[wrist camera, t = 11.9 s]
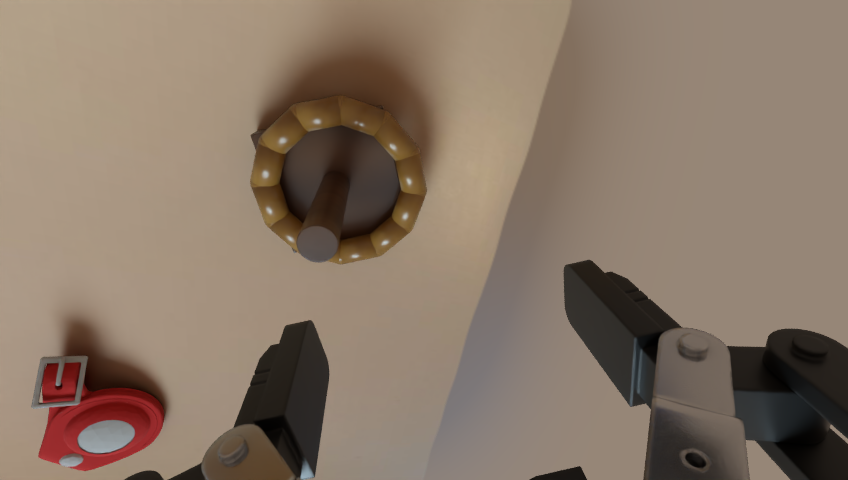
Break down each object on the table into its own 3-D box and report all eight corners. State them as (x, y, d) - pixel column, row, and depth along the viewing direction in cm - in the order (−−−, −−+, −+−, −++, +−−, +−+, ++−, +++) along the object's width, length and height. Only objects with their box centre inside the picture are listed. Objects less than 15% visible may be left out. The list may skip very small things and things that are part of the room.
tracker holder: (188, 423, 36) (97, 497, 35) (190, 387, 40) (107, 454, 39) (49, 363, 29) (-69, 455, 28) (67, 326, 32) (-38, 407, 31)
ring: (230, 115, 26) (220, 119, 24) (406, 81, 26) (408, 82, 24) (287, 268, 30) (283, 280, 29) (434, 238, 31) (438, 248, 29)
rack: (256, 131, 27) (184, 174, 17) (382, 105, 28) (388, 132, 17) (297, 244, 31) (259, 337, 21) (407, 221, 32) (424, 300, 21)
